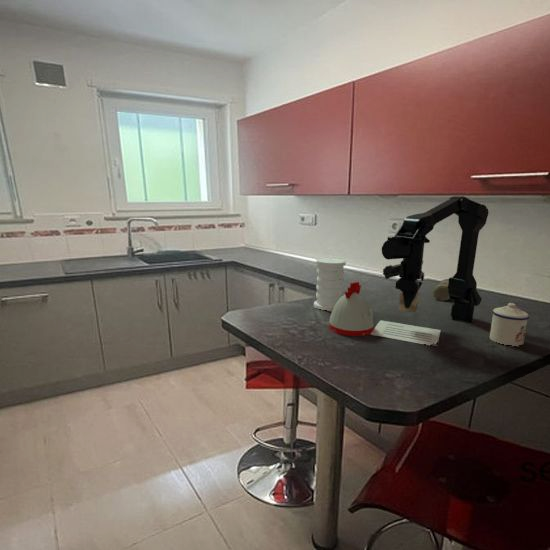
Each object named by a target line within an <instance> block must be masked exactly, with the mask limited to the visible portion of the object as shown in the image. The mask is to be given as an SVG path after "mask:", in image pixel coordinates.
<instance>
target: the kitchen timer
mask: <svg viewBox="0 0 550 550" xmlns="http://www.w3.org/2000/svg"><path fill="white" fill-rule="evenodd" d="M361 289H362V285H361V284H360V282H359V281H356V282H350V284H349V287H348V286H347V291H345V292H344V294H342V297H341V298H340V299H339V300H338V301H337V303H336V304H335V306H332V310H331V311H330V312H331V313H330V317H329V323H328V327H329V330H331V331H332V332H334V333H336V334H339V335H343V336H349V337H350V336H352V337H360V336H367V335H370V334H371V333H372V332H373V330H374V312H373V309H371V308H370V305H369V303H368V302H367V301H366V299H365V298H364V297H363V296H362V295H361V294H360V291H361Z"/></svg>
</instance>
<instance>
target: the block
mask: <svg viewBox="0 0 550 550" xmlns="http://www.w3.org/2000/svg"><path fill="white" fill-rule="evenodd" d="M419 295H420V294H419V292H417V294H416V296H415V298H414V300H413V301H412V303H411V305H410V307H409V308H405V303H404V297H403V293H402V291H400V293H399V302H398V311H402V312H403V311H404V312H411V313H416V312H417V310H418V304H419Z"/></svg>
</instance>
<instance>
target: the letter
mask: <svg viewBox="0 0 550 550" xmlns="http://www.w3.org/2000/svg"><path fill="white" fill-rule="evenodd" d="M441 330H442V329H436V328H430V327H424V326H419V325H418V326H417V325H411V324H404V323H401V322H400V323H399V322H393V321H387V320H383V319H382V320H379V321H378V323H377V324H376V326H375V327H373V332H372V333H370V334H369V335H371V336H375V337H381V338H382V337H383V338H386V339H387V338H388V339H392V340H397V341H403V342H408V343H413V344H414V343H415V344H418V345H419V344H420V345H424V344H426V346H430V345H431V344H433V343H434V344H436V343H437V342H438V343H439V340H440V339H439V338H440V335H441Z"/></svg>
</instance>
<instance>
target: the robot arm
mask: <svg viewBox="0 0 550 550" xmlns="http://www.w3.org/2000/svg"><path fill="white" fill-rule="evenodd" d="M452 215H456V216H457V217H458V220H457V223H458V225H459V226H460V229H461V237H460V244H459V245H460V246H459V252H458V260H457V267H456V272H455V273H454V275H453V276H452V277H451V276H450V277H449V278H448V279H449V284H448V287H447V288H448V293H449V297H450V299H449V300H450V301H453V303H452V305H451V312H450V317H451V320H454V321H457V322H458V321H459V322H465V323H466V322H467V323H473V322H474V311H475V307H477V306H478V307H479V306H480V304H481V302H482V297H481V295H480V294H479V292H478V291H477V287H478V285H477V284H478V283H477V280H476V279H475V276H474V267H475V259H476V254H477V247H478V241H479V235H480V234H479V233H480V231H481V230H482V229H483V228H484V226H485V225H486V223H487V219H488V216H489V209H488V208H487V206H486V204H481V203H479V202H476V201H474V200H471V199H469V198H468V197H466V196H461V195H459V196H458V195H457V196H456V195H455V196H450V197H449V199H447V200H445V201H444V202H442V203H440V204H438V205H436V206H434V207H433V208H431V209H429V210H427V211H426V212H425V211H424V212H422V213H417V214H416V213H415V214H412V215H408V216H406V217H405V218H404V219H403V222H402V223H401V225H400V226H399V229H398V230H397V231H396V233H395V234H394V236H393V235H392V236H391V235H389V236H387V240H386V241H384V242H383V245H382V246H381V254H382V257H383V258H384V259H385V260H388V261H389V260H396V259H397V260H400V259H401V261H400V263H399V264H394V265H392V264H390V265H386V266H385V267H384V268H383V269H382V271H383V273H382V275H383V276H384V278H385V279H384V280H389V279H390V278H394V277H399V278H398V279H397V281H395V289H396V290H399V291H400V292H402V293H403V297H404V303H405V308H409V307H410V305H411V303H412V301H413V300H414V298H415V296H416V294H417V293H419V290H420V288H421V286H422V285H423V282H424V280H425V272H424V271H422V269H423V264H424V251H425V250H424V249H425V244H429V243H430V240H429V238H428V237H426V236H427V235H428V234H429V233H430V232H432V231H433V229H434V228H435V226H436V224H438V223H440V222H441V221H443V220H446V219H447V218H449V217H450V216H452ZM419 280H421V281H419Z"/></svg>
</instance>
